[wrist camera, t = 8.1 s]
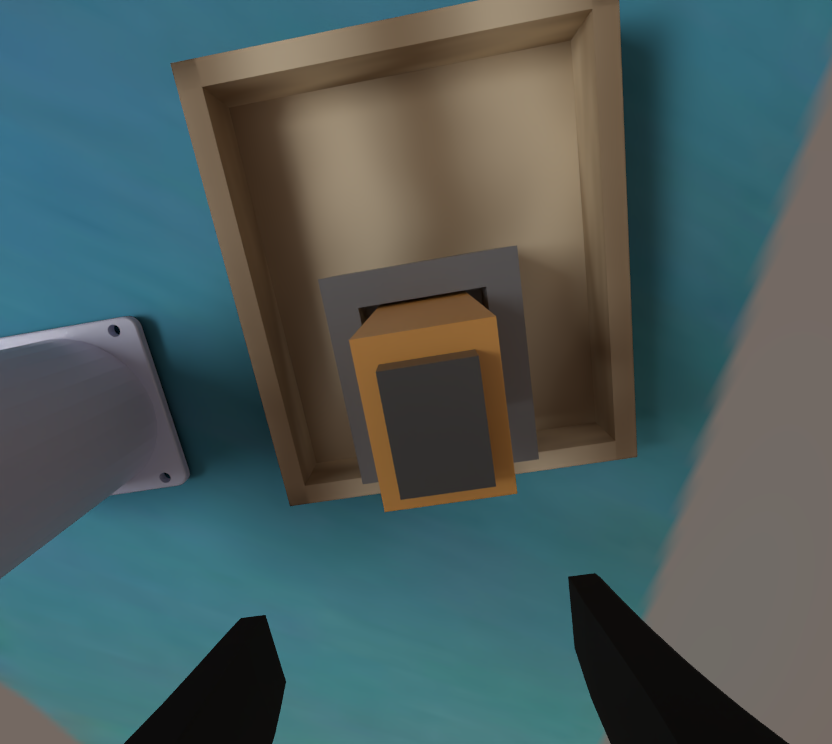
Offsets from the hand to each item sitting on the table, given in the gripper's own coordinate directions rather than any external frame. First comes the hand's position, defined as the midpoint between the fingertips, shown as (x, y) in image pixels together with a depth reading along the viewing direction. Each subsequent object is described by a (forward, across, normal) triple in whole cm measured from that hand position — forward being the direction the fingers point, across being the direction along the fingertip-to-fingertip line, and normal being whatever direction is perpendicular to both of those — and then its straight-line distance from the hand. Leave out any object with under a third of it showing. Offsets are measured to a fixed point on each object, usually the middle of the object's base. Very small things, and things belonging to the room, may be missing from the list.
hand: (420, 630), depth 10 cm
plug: (+7, -1, -5) cm, 9 cm away
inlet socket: (+9, -1, -4) cm, 10 cm away
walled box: (+10, -2, -8) cm, 13 cm away
